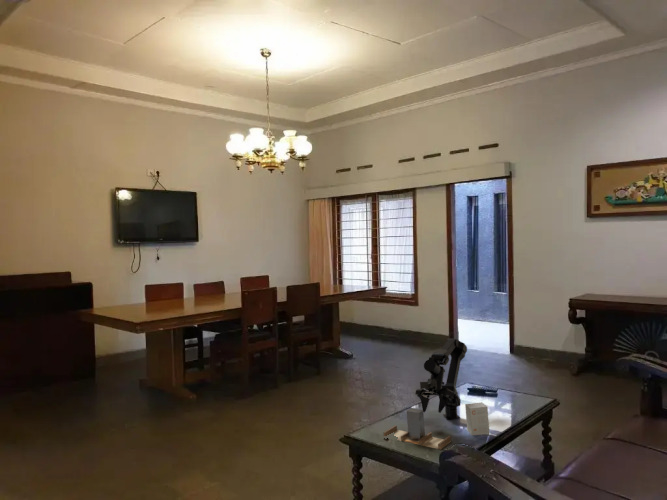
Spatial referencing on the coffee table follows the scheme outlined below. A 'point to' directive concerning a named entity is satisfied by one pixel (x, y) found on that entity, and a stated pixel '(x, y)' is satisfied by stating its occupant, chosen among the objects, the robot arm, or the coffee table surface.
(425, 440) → the slot rack
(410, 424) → the block
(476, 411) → the small box
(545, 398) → the coffee table surface
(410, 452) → the coffee table surface
